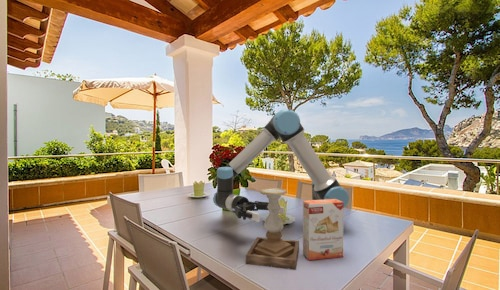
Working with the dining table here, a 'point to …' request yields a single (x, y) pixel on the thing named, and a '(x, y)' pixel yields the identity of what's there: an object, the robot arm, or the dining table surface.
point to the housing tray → (273, 261)
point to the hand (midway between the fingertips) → (272, 214)
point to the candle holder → (273, 228)
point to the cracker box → (323, 228)
